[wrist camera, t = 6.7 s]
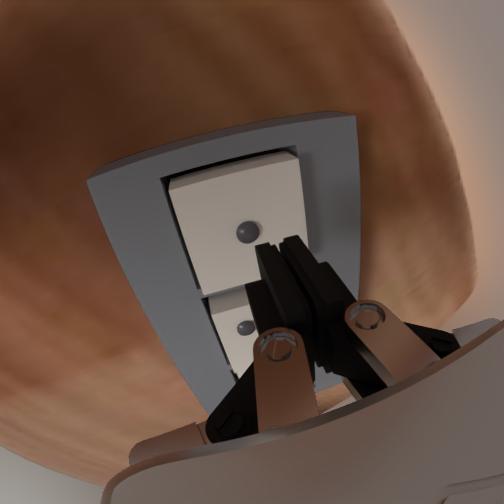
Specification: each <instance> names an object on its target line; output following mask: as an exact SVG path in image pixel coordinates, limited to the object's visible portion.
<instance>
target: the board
mask: <svg viewBox="0 0 504 504" xmlns="http://www.w3.org/2000/svg"><path fill="white" fill-rule="evenodd" d="M276 148H280V151H286V152H288V153H290V154H291V155H293V156H295V157H297V158H298V159H299V167H300V174H301V182H302V191H303V199H304V208H305V218H306V227H307V238H308V249H309V250H310V252H311V253H312V254H313V256H314V257H315V259H316V260H317V261H318V263H321V262H325V261H326V262H328V263H329V264H330V265H331V267H332V268H333V269H334V271H335V272H336V273H337V275H338V276H339V277H340V279H341V280H342V281H343V283H344V284H345V285H346V287H347V288H348V289H349V291H350V292H351V293H352V295H353V296H354V297H355V299H356V300H357V301H358V292H359V275H360V248H361V192H360V166H359V149H358V136H357V124H356V115H351V114H345V113H340V112H334V111H325V112H317V113H309V114H302V115H295V116H289V117H282V118H276V119H271V120H265V121H260V122H255V123H249V124H245V125H240V126H235V127H231V128H226V129H222V130H218V131H213V132H209V133H205V134H201V135H197V136H194V137H190V138H186V139H183V140H179V141H176V142H172V143H169V144H165V145H162V146H159V147H155V148H152V149H149V150H146V151H143V152H140V153H137V154H134V155H131V156H128V157H125V158H122V159H120V160H117V161H114V162H111V163H109V164H106V165H103V166H101V167H100V168H99V169H98V170H96V171H95V172H94V173H93V174H92V175H91V176H90V177H89V178H88V179H87V180H86V183H87V185H88V188H89V191H90V194H91V196H92V199H93V201H94V204H95V207H96V209H97V212H98V214H99V217H100V219H101V222H102V224H103V226H104V229H105V231H106V234H107V236H108V238H109V240H110V243H111V245H112V247H113V249H114V252H115V254H116V256H117V258H118V260H119V263H120V265H121V267H122V269H123V271H124V273H125V275H126V277H127V279H128V281H129V283H130V285H131V287H132V289H133V291H134V293H135V295H136V297H137V299H138V301H139V303H140V305H141V307H142V308H143V310H144V312H145V314H146V316H147V318H148V319H149V321H150V323H151V325H152V327H153V328H154V330H155V332H156V334H157V335H158V337H159V339H160V341H161V342H162V344H163V346H164V347H165V349H166V351H167V352H168V354H169V356H170V357H171V359H172V361H173V362H174V364H175V365H176V367H177V369H178V370H179V372H180V373H181V375H182V376H183V378H184V379H185V381H186V383H187V384H188V386H189V387H190V389H191V390H192V392H193V393H194V394H195V396H196V397H197V399H198V400H199V402H200V403H201V405H202V406H203V407H204V409H205V410H206V412H207V413H208V415H209V416H210V414H211V413H212V412H213V411H214V409H215V408H216V407H217V406H218V405H219V403H220V402H221V401H222V400H223V399H224V397H225V396H226V395H227V394H228V392H229V391H230V390H231V389H232V387H233V386H234V385H235V384H236V382H237V381H238V380H239V379H238V376H237V374H236V373H234V371H233V369H232V366H231V364H230V361H229V359H228V356H227V354H226V352H225V349H224V347H223V344H222V342H221V339H220V337H219V334H218V331H217V329H216V326H215V324H214V321H213V319H212V316H211V311H210V305H209V302H208V299H207V297H208V296H212V295H216V294H219V293H223V292H227V291H230V290H234V289H237V288H241V287H244V286H245V285H244V284H243V285H239V286H236V287H232V288H229V289H225V290H221V291H218V292H214V293H210V294H207V295H203V292H202V289H201V286H200V284H199V281H198V278H197V275H196V272H195V270H194V267H193V264H192V261H191V258H190V255H189V252H188V249H187V246H186V243H185V240H184V237H183V234H182V231H181V228H180V225H179V222H178V219H177V216H176V213H175V210H174V207H173V203H172V200H171V197H170V194H169V181H168V178H167V175H171V174H174V173H178V172H181V171H185V170H188V169H192V168H195V167H199V166H203V165H207V164H210V163H214V162H218V161H222V160H226V159H230V158H235V157H239V156H243V155H248V154H252V153H257V152H261V151H266V150H271V149H276ZM342 382H343V381H342V379H341V376H340V375H336V374H333V372H331V373H328V374H326V372H325V370H324V368H323V367H320V368H318V367H317V365H316V363H315V381H314V383H313V387H314V391H315V393H316V392H319V391H321V390H324V389H327V388H329V387H332V386H335V385H337V384H340V383H342Z"/></svg>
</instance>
